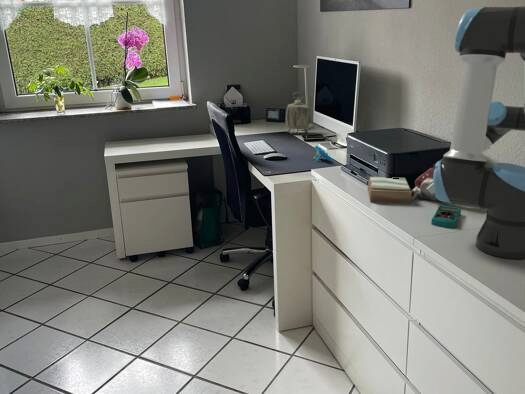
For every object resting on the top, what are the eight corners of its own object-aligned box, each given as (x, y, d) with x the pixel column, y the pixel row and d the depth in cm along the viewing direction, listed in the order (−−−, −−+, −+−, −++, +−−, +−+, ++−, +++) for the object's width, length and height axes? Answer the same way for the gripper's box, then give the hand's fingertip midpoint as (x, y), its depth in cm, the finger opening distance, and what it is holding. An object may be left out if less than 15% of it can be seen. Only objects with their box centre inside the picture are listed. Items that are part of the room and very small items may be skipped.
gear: (335, 159, 234) (321, 145, 231) (327, 169, 234) (312, 154, 231) (327, 157, 245) (313, 143, 242) (319, 166, 245) (304, 153, 242)
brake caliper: (450, 189, 187) (447, 168, 178) (441, 212, 182) (438, 192, 173) (420, 184, 193) (416, 163, 184) (410, 206, 188) (406, 186, 179)
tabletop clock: (309, 132, 308) (310, 91, 301) (309, 135, 300) (310, 93, 292) (285, 132, 310) (286, 91, 302) (285, 135, 301) (285, 92, 293)
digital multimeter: (430, 226, 158) (431, 217, 158) (437, 212, 171) (438, 203, 170) (454, 230, 155) (456, 221, 154) (460, 215, 168) (461, 207, 167)
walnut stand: (410, 204, 178) (412, 190, 176) (370, 202, 180) (371, 188, 178) (404, 189, 195) (405, 177, 193) (367, 187, 197) (368, 175, 195)
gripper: (493, 160, 168) (440, 203, 174) (470, 146, 190) (424, 185, 195) (479, 144, 167) (426, 188, 172) (458, 132, 188) (411, 171, 194)
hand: (425, 186), depth 184 cm, fingers closed on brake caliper, 10 cm apart
